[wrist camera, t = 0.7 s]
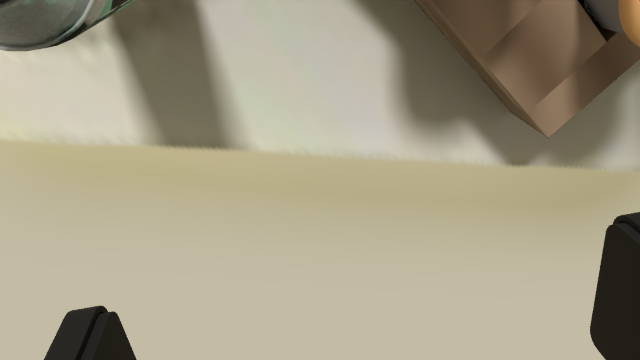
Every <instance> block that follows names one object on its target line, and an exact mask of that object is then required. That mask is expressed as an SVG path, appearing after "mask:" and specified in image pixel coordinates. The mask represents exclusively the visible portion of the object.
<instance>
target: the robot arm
mask: <svg viewBox="0 0 640 360" xmlns="http://www.w3.org/2000/svg"><path fill="white" fill-rule="evenodd" d="M590 334H591V338H592V341H593V343H594V345H595V347H596V348H597V349H598V350H599V352H600V353H601V354H602V356H603V357H604V358H605V359H606V360H640V212H638V213H632V214H626V215H621V216H618V217H617V218H616V219H615V220H614V222H613V225H610V226H609V227H608V228H607V231H606V235H605V241H604V247H603V253H602V259H601V265H600V271H599V277H598V284H597V290H596V295H595V301H594V308H593V314H592V320H591V326H590ZM44 360H136V357H135V355H134V353H133V350H132V348H131V346H130V343H129V341H128V338H127V336H126V334H125V331H124V329H123V326H122V324H121V321H120V319H119V317H118V315H117V313H115V312H108V311H107V309H106V308H105V307H104V306H95V307H89V308H84V309H78V310H72V311H70V312H68V313H67V314H66V316H65V318H64V319H63V321H62V323H61V325H60V328H59V330H58V332H57V334H56V336H55V338H54V340H53V342H52V344H51V346H50V348H49V350H48V352H47V355H46V356H45V358H44Z"/></svg>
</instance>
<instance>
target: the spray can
mask: <svg viewBox="0 0 640 360" xmlns="http://www.w3.org/2000/svg"><path fill="white" fill-rule="evenodd" d="M134 1H135V0H0V50H5V51H31V50H36V49H42V48H47V47H53V46H57V45H59V44H62V43H64V42H66V41H69V40H71V39H73V38H75V37H76V36H78V35H80V34H81V33H83V32H85V31H86V30H88V29H90V28H91V27H93V26H94V25H96V24H98V23H99V22H101V21H103V20H104V19H106V18H108V17H109V16H111V15H112V14H114V13H116V12H117V11H119V10H121V9H122V8H124V7H126V6H127V5H129V4H131V3H132V2H134Z"/></svg>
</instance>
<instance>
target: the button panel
mask: <svg viewBox="0 0 640 360" xmlns="http://www.w3.org/2000/svg"><path fill="white" fill-rule="evenodd" d="M414 1H415V2H416V3H417V4H418V5H419V7H420V8H421V9H422V10H423V11H424V12H425V13H426V15H427V16H428V17H429V18H430V19H431V20H432V22H433V23H434V24H435V25H436V26H437V27H438V28H439V30H440V31H441V32H442V33H443V34H444V35H445V36H446V38H447V39H448V40H449V41H450V42H451V43H452V45H453V46H454V47H455V48H456V49H457V50H458V51H459V53H460V54H461V55H462V56H463V57H464V58H465V59H466V61H467V62H468V63H469V64H470V65H471V66H472V68H473V69H474V70H475V71H476V72H477V73H478V74H479V76H480V77H481V78H482V79H483V80H484V81H485V82H486V84H487V85H488V86H489V87H490V88H491V89H492V91H493V92H494V93H495V94H496V95H497V96H498V97H499V99H500V100H501V101H502V102H503V103H504V104H505V105H506V107H507V108H508V109H509V110H510V111H511V112H512V113H513V114H514V115H515V116H517V117H518V118H520V119H521V120H523V121H524V122H526V123H527V124H529V125H530V126H531V127H533V128H534V129H536V130H537V131H539V132H540V133H542V134H543V135H545V136H546V137H547V138H549V137H550V136H551V135H552V134H554V133H555V132H556V131H557V130H558V129H559V128H561V127H562V126H563V125H564V124H565V123H566V122H567V121H569V120H570V119H571V118H572V117H573V116H574V115H575V114H577V113H578V112H579V111H580V110H581V109H582V108H584V107H585V106H586V105H587V104H588V103H589V102H590V101H592V100H593V99H594V98H595V97H596V96H597V95H598V94H600V93H601V92H602V91H603V90H604V89H605V88H607V87H608V86H609V85H610V84H611V83H612V82H613V81H615V80H616V79H617V78H618V77H619V76H620V75H621V74H623V73H624V72H625V71H626V70H627V69H628V68H630V67H631V66H632V65H633V64H634V63H635V62H636V61H638V60H639V59H640V47H639V46H637V45H635V44H634V43H633V42H632V41H631V40H630V39H629V38H628V37H627V35H626V34H622V33H619V32H615V31H611V30H608V29H604V28H602V27H601V26H600V24H599V23H598V21H596V22H594V23H593V22H592V20H591V19H590V17H589V16H588V15H587V13H586V12H585V10H584V9H583V7H582V6H581V5H580V3H579V2H578V0H414Z"/></svg>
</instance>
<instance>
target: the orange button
mask: <svg viewBox="0 0 640 360" xmlns="http://www.w3.org/2000/svg"><path fill="white" fill-rule="evenodd" d="M583 1H584V2H585V4H586V5H587V7H588V8H589V10H590V11H591V12H592V14H593V15H594V17H595V18H596V20H597V21H598V23H599V24H600V26H601V27H602V28H604V29H608V30H611V31H615V32H619V33H622V34H626V35H627V37H628V38H629V39H630V40H631V41H632V42H633V43H634V44H635V45H637V46H639V47H640V0H583Z"/></svg>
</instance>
